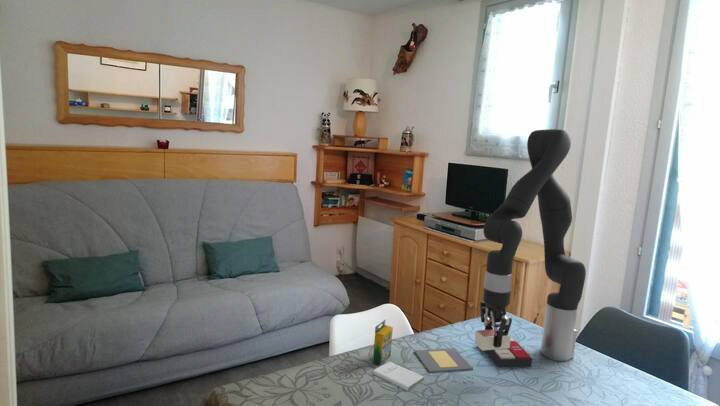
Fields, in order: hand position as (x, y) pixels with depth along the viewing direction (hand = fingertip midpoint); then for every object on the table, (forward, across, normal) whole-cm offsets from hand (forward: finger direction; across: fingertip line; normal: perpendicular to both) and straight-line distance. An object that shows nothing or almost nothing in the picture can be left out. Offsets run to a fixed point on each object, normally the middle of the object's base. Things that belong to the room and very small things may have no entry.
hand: (492, 342), depth 131 cm
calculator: (+11, +11, -12) cm, 19 cm away
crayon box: (+10, +13, +29) cm, 34 cm away
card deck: (+1, 0, 0) cm, 1 cm away
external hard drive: (+11, +3, +28) cm, 30 cm away
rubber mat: (+10, +10, +10) cm, 18 cm away
